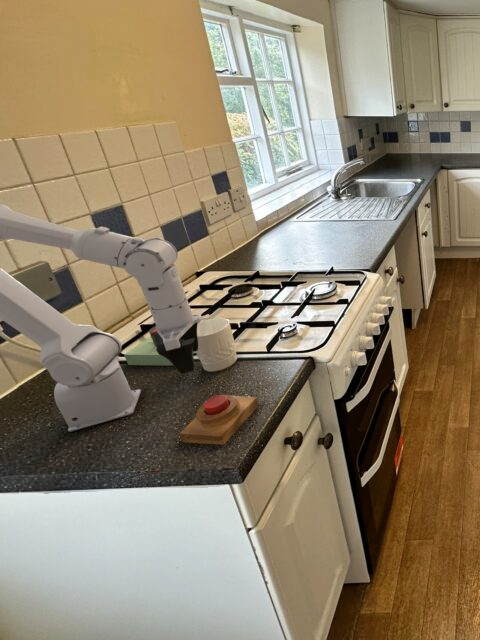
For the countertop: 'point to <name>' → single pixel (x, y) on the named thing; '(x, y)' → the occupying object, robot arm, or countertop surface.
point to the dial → (155, 337)
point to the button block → (219, 422)
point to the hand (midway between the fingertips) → (190, 360)
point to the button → (216, 404)
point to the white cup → (215, 344)
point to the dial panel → (146, 355)
